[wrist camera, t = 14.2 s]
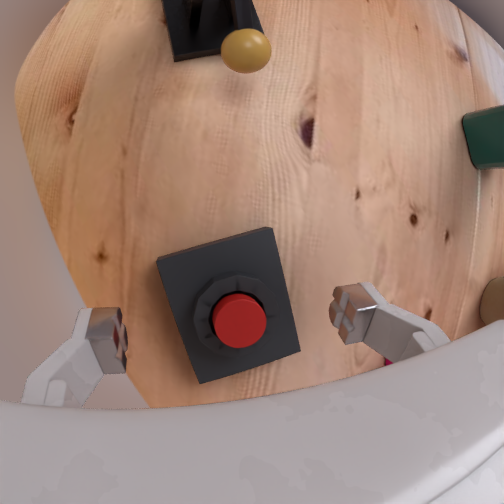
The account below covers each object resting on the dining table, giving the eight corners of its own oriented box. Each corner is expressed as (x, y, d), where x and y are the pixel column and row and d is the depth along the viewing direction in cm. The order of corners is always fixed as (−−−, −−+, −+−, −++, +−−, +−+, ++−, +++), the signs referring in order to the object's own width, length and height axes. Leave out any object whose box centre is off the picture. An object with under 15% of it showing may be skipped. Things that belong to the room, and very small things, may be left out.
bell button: (266, 330, 25) (271, 338, 23) (220, 345, 24) (223, 354, 23) (254, 287, 24) (259, 292, 23) (206, 301, 24) (208, 308, 22)
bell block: (293, 342, 30) (308, 359, 26) (198, 373, 28) (201, 394, 24) (265, 226, 28) (279, 228, 24) (157, 257, 26) (153, 264, 22)
